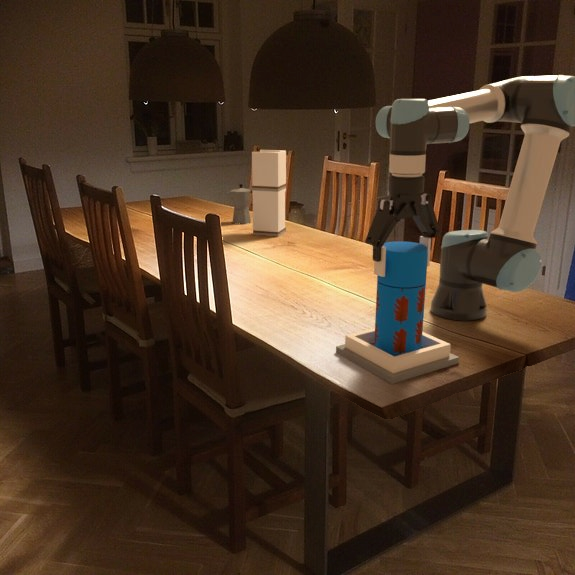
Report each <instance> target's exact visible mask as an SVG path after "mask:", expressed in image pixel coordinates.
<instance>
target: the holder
mask: <svg viewBox="0 0 575 575" xmlns="http://www.w3.org/2000/svg"><path fill="white" fill-rule="evenodd" d="M344 338H345V339H344V342H345V343H344V344H340V345H336V346H335V353H337V354H339V356H342V357H343V358H345V359H347V360H349V361H351V362H352V363H354V364H356V365H358V366H359V367H362V368H363V369H365V370H366V371H368V372H370V373H372V374H373V375H375V376H377V377H379V378H381V380H382V379H383V380H385V381H386V382H388V383H389V384H391V385H393V384H396V383H400V382H403V381H406V380H409V379H412V378H416V377H420V376H423V375H425V374H429V373H431V372H436V371H439V370H442V369H445V368H448V367H451V366H454V365H457V364H459V363H460V357H459V356H458V355H455V354H453V353H451V347H452V346H451V343H450V342H447V341H444V340H442V339H439V338H438V337H435V336H432V335H431V334H429V333H426V332H424V331H422V343H421V349H420V350H416V351H412V352H409V353H405V354H402V355H398V356H395V357H394V356H392V355H390V354H388V353H386V352H384V351H383V350H381V349H379V348H377V347H375V327H374V328H369V329H365V330H363V331H361V330H360V331H357V332H354V333H350V334H346V335H345V336H344Z"/></svg>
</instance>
